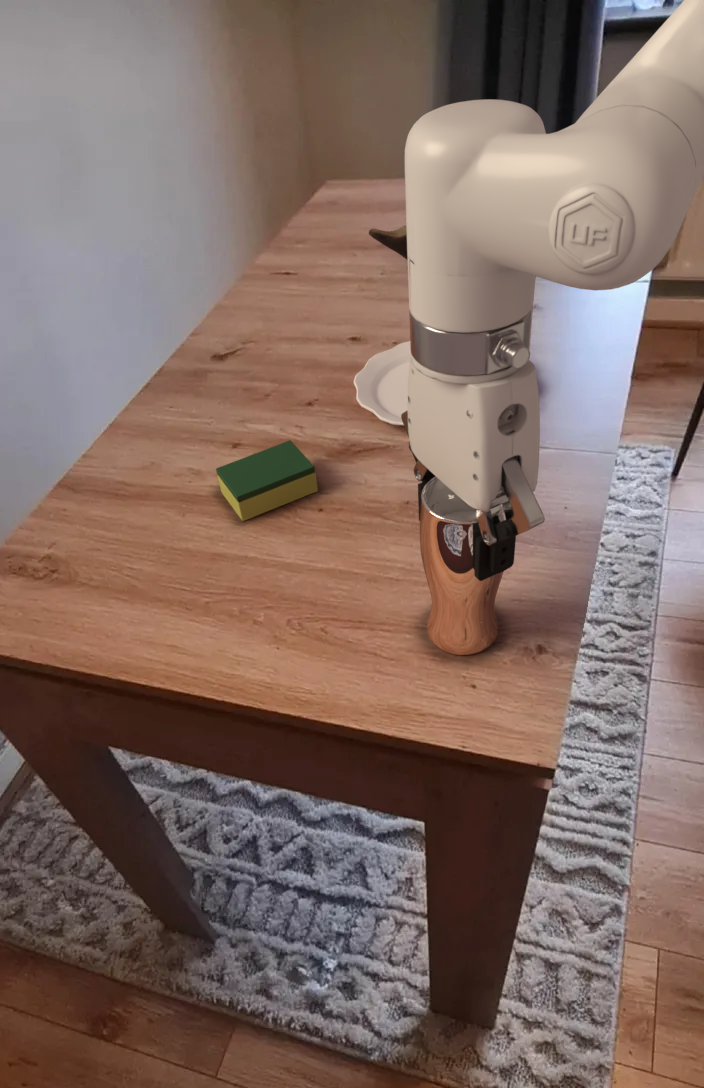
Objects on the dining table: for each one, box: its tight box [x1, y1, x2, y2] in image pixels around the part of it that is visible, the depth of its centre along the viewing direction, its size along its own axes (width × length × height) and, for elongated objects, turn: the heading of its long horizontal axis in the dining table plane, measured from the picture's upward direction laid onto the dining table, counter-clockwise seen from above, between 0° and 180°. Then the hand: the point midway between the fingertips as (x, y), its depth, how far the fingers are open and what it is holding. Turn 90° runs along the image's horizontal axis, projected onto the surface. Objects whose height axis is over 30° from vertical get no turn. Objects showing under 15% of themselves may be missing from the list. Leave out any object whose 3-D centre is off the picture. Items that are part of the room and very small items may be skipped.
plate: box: [353, 340, 411, 426], centre depth 97 cm, size 21×21×2 cm
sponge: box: [215, 439, 319, 522], centre depth 86 cm, size 9×6×3 cm, turn 117°
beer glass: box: [419, 476, 506, 656], centre depth 65 cm, size 7×7×15 cm
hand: (464, 542), depth 63 cm, fingers closed on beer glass, 7 cm apart
